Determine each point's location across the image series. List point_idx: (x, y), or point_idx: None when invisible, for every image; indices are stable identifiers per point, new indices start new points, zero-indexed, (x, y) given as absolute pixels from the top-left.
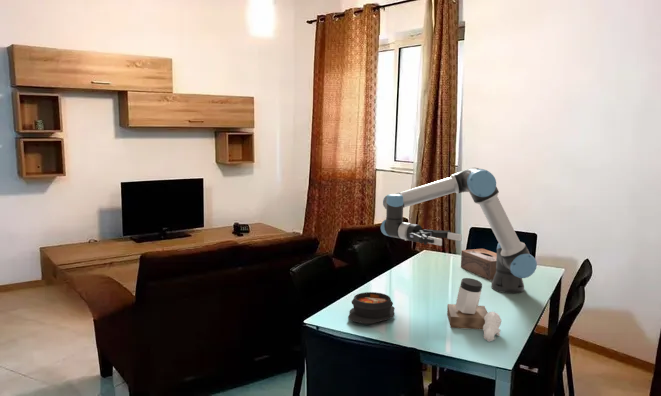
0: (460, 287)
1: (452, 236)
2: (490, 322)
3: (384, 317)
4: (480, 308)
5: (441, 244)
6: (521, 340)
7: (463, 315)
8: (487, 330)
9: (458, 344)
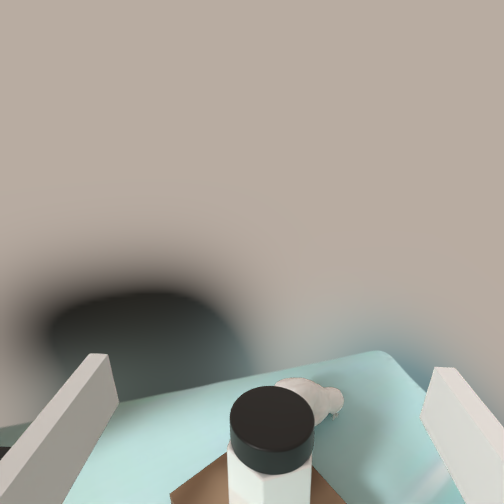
0: (311, 460)
1: (45, 486)
2: (320, 387)
3: None
4: (206, 488)
5: (427, 409)
6: (270, 373)
7: (314, 495)
8: (338, 393)
9: (415, 449)
